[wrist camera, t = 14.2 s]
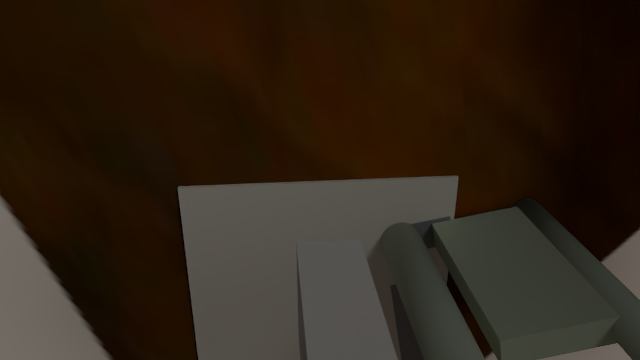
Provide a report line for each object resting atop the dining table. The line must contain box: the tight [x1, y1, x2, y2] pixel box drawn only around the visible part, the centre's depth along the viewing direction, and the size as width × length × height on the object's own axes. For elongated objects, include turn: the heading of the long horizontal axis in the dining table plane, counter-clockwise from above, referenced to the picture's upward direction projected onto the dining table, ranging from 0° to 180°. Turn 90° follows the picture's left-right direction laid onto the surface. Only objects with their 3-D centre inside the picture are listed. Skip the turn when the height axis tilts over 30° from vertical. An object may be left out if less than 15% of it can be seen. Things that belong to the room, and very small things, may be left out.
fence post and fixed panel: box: [381, 198, 640, 360], centre depth 34 cm, size 12×3×16 cm, turn 100°
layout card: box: [178, 176, 459, 360], centre depth 42 cm, size 20×18×1 cm
